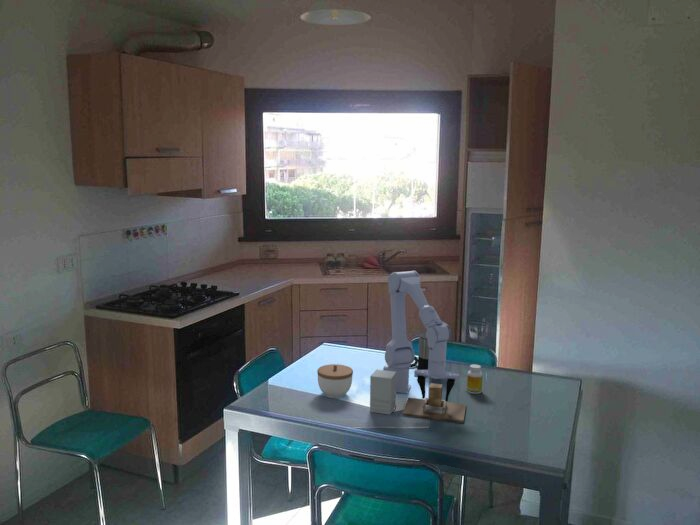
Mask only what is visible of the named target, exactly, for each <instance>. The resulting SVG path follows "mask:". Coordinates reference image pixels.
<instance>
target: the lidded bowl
mask: <svg viewBox="0 0 700 525" xmlns="http://www.w3.org/2000/svg"><path fill="white" fill-rule="evenodd" d="M316 372H317V382H318V384H317V385H318V387H319V390H320V391H321V392H322V393H323V394H324V396H325V397H326V398H330V399H340V398H343V397H344V396H345V395H346V394H347V393H348V392H349V391H350V389H351V387H352V383H353V376H354V375H353V374H354V370H353V368H352V367H351V366H348V365H344V364H338V363H337V364H335V363H332V364H325V365H321V366H320V367H318V368H317V371H316Z"/></svg>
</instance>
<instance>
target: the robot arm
mask: <svg viewBox="0 0 700 525" xmlns="http://www.w3.org/2000/svg"><path fill="white" fill-rule="evenodd" d="M387 282H388V284H387V285H388V286H387V290H388V295H389V296H390V297H389V298H390V318H391V319H390V320H391V321H390V322H391V340H390V341H389V342H388V343H387V344H386V345H385V352H384V361H385V363H386V364H384V365H383V368H382V370H385V371H393V372H396V393H397V394H398V393H399V394H409V391H410V389H411V387H412V385H411V384H409V381H410V380H409V378H410V367H409V366H411V364H413V363H414V362H415V360H414V358H415V356H416V355H415V351H414V348H413V343H412V342H411V341H409V340H408V339H407V335H408V334H407V319H406V318H407V317H406V314H407V313H406V296H407V295H409V296H410V298H411V299H412V301H413V303H415V305H416V307H417V308H418V309H419V311H418V317H419V318H420V320H421V322H422V324H423V326H424V327H425V329H426V337H427V340H428V347H429V359H428V370H417V369H414V374H413V375H414V376H413V377H415V378H416V382H417V384H418V385H419V389H420V392H421V396H422V398H421V399H425V398H426V381H427V379H428V378H429V379H433V380H434V379H435V380H446V387H445V388H446V390H445V391H446V394H445V399H444V400H445V401H447V402H449V396H450V393H451V391H452V388H454V386H455V382H458V381H459V375H460V373H453V372H450V371H446V367H447V366H446V363H447V344H448V342H447V341H449V340H450V339H451V336H452V330H451V328H450V325H449V324H448V323H446V322H445V321H443V320H441V318H440V316H439V314H438V312H437V311H436V309H435V306H432V305H430V304H429V303H428V300H427V298H426V296H425V293H424V292H423V289H422V287H421V284H422V283H421V277H420V275H419V272H417V270H410V271H409V270H408V271H393V272H391V273H390V275H389V276H388V278H387Z"/></svg>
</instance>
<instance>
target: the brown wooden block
mask: <svg viewBox="0 0 700 525" xmlns="http://www.w3.org/2000/svg"><path fill="white" fill-rule="evenodd" d="M428 398H429V400H428V405H429V406H438V407H441V404H442V400H443V384H442V383H441V384H440V383H433V382H431V383H430V384H429V386H428Z"/></svg>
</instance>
